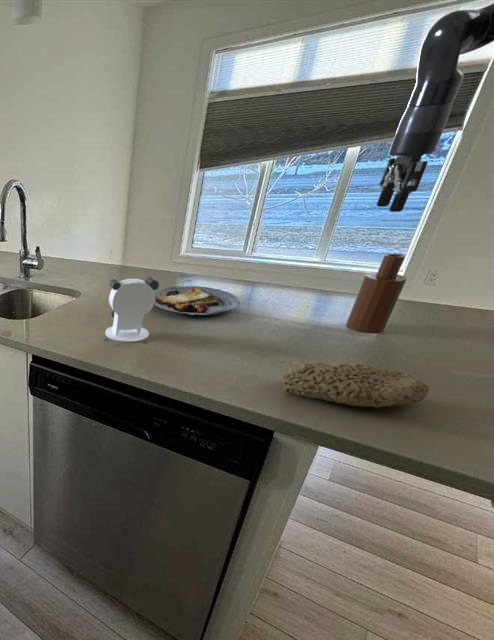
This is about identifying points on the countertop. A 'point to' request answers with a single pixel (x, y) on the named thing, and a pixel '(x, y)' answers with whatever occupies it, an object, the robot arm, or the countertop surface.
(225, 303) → the food plate
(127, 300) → the panda figurine
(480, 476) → the countertop surface
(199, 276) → the countertop surface
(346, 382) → the sponge
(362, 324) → the bottle
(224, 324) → the countertop surface
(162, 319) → the countertop surface
